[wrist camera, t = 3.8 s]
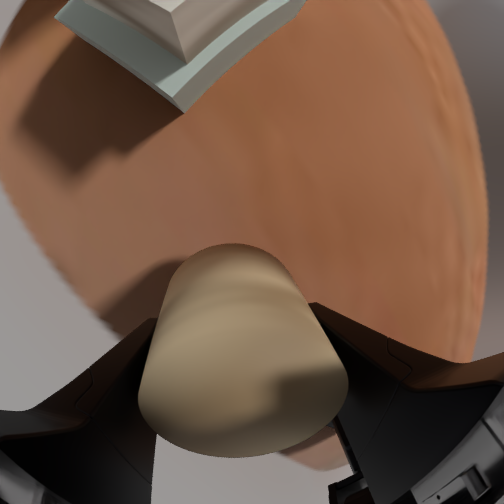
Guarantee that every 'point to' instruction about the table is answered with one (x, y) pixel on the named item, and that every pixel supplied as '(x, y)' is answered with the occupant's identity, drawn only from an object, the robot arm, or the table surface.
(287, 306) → the maple cylinder
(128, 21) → the cream top block
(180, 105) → the sage base block
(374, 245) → the table surface
